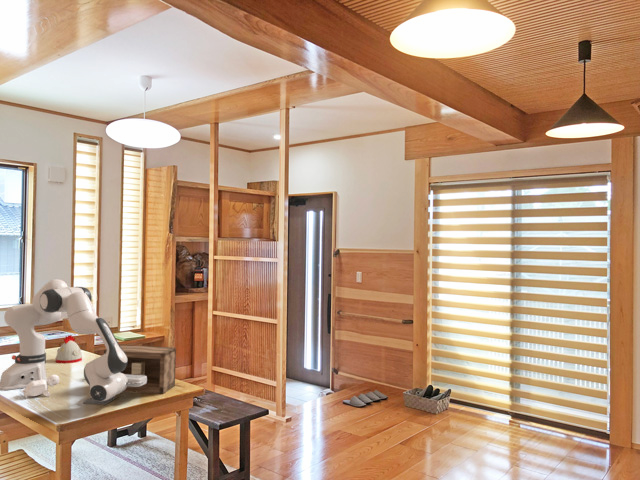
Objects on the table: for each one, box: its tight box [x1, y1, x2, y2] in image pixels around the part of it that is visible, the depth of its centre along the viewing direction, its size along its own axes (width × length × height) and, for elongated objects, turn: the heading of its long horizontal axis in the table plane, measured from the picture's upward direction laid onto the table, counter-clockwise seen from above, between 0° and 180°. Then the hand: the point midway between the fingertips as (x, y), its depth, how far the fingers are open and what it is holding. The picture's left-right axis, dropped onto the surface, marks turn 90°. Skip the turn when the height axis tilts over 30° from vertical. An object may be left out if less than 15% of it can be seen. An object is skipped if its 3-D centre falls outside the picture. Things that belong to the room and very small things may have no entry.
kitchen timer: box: [55, 334, 83, 364], centre depth 303 cm, size 14×14×15 cm
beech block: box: [132, 361, 145, 375], centre depth 248 cm, size 4×4×10 cm
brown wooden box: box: [103, 344, 177, 395], centre depth 250 cm, size 14×30×19 cm, turn 84°
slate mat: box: [82, 396, 117, 406], centre depth 229 cm, size 10×10×1 cm
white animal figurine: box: [22, 374, 60, 400], centre depth 235 cm, size 9×8×15 cm
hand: (131, 375), depth 242 cm, fingers open, 8 cm apart
